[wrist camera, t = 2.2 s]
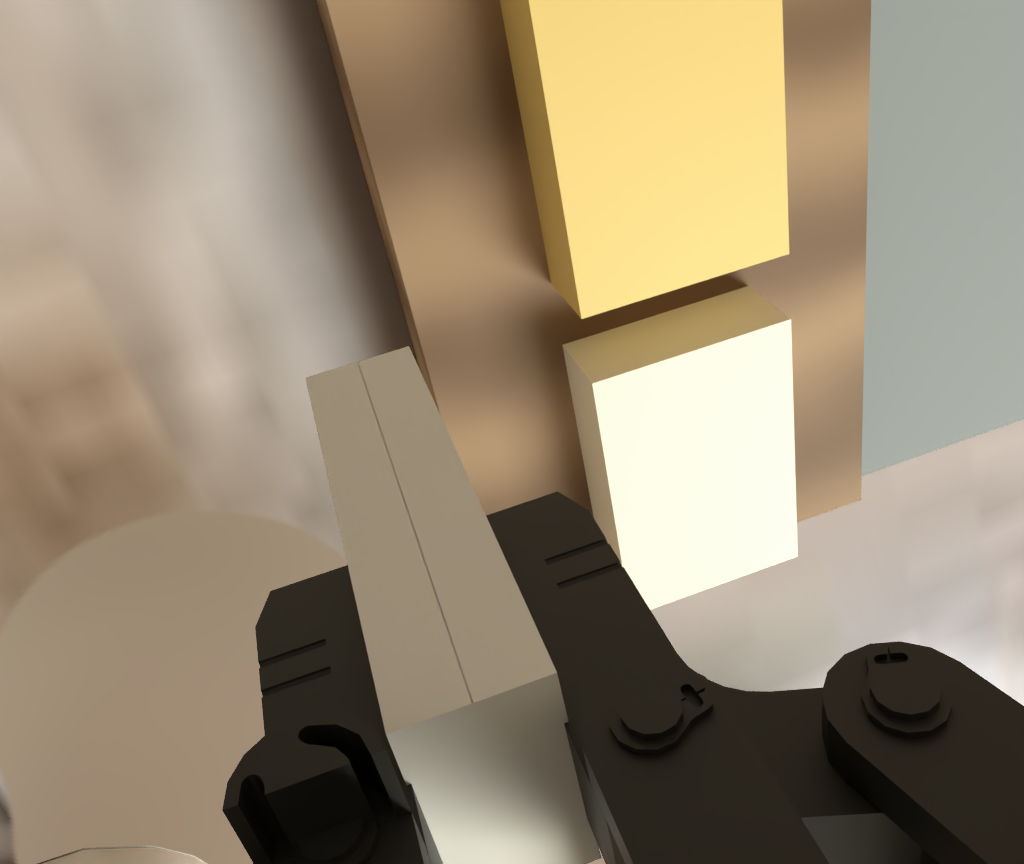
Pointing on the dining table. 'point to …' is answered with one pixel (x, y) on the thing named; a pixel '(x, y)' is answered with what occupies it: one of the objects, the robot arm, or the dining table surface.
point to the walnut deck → (521, 252)
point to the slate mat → (943, 226)
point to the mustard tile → (651, 140)
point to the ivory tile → (690, 442)
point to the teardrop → (125, 856)
